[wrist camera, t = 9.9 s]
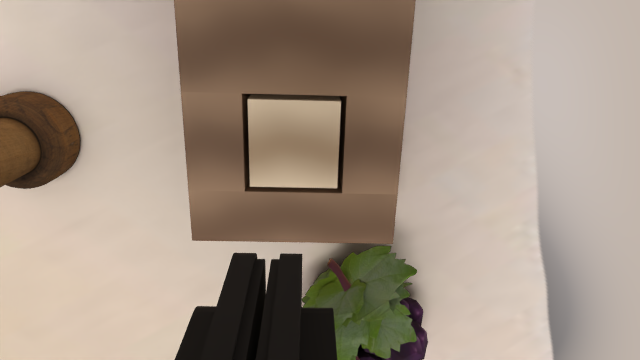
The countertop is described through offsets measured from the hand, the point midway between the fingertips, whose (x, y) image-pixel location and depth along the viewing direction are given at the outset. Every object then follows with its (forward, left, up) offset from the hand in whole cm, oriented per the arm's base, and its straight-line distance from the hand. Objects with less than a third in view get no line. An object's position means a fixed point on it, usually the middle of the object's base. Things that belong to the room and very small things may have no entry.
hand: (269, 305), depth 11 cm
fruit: (+15, +6, -23) cm, 28 cm away
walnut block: (-6, 0, -23) cm, 24 cm away
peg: (0, 0, -23) cm, 23 cm away
